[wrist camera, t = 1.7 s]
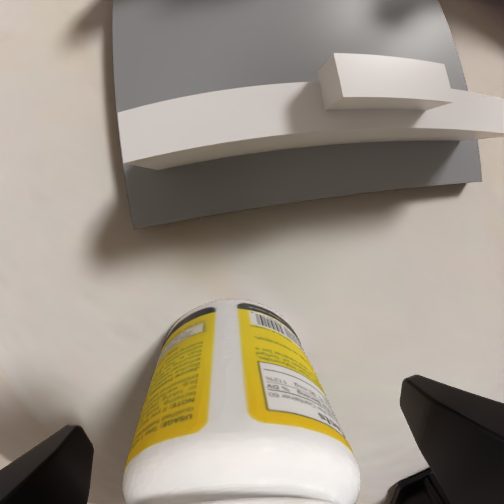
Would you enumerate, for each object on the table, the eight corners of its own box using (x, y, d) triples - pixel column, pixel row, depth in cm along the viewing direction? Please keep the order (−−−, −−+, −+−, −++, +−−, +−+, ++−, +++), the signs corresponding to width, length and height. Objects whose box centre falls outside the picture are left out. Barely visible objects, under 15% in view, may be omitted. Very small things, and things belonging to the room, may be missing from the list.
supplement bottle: (174, 409, 11) (144, 611, 3) (155, 298, 10) (33, 538, 2) (297, 404, 11) (362, 598, 3) (303, 291, 10) (454, 517, 2)
